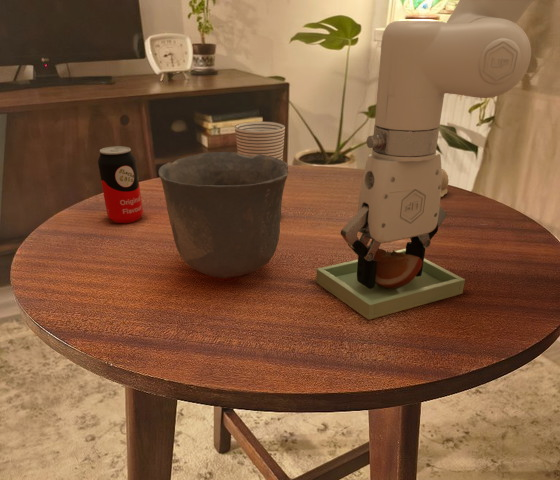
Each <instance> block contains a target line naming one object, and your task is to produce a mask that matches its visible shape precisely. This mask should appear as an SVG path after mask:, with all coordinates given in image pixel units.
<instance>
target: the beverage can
mask: <svg viewBox="0 0 560 480" xmlns="http://www.w3.org/2000/svg"><path fill="white" fill-rule="evenodd" d="M131 150H132V149H131V148H130V147H128V146H122V145H116V146H114V145H113V146H107V147H103V148H101V149H99V156H98V160H97V164H98V169H99V170H98V171H99V176H100V177H99V178H100V181H101V188H102V193H103V197H104V198H103V200H104V204H105V210H106V215H107V217H108V218H109V219H110V220H112V221H113V222H114V223H117V224H131V223H135V222H137V221H139V220H140V218H141V217H142V216H143V214H144V209H143V202H142V194H141V187H140V180H139V174H138V166H137V160H136V157H135V156H134V154H133V153H132V151H131Z"/></svg>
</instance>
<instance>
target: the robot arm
mask: <svg viewBox="0 0 560 480" xmlns="http://www.w3.org/2000/svg"><path fill="white" fill-rule="evenodd" d="M534 1H535V0H458V2H457V4H456V5H455V7H454V9H453V11H452V13H451V14H450V16H449V18H448V19H447V21H446V22H445V21H443V20H438V19H399V20H394V21H391V22H389V23H388V24H387V25H386V27H385V28H384V30H383V33H382V37H381V43H380V44H381V45H380V56H379V67H378V69H379V70H378V79H377V81H378V82H377V92H376V93H377V94H376V104H375V114H374V115H375V117H374V127H373V128H374V129H373V134H372V135H368V136H367V138H366V146H367V147H368V149H372V150H371V151H372V152H371V153H368V155H367V159H366V162H365V166H364V167H365V168H364V170H363V175H362V180H361V183H360V185H361V186H360V190H359V197H358V205H357V213H356V214H355V215H354V216H353V217H352V218H351V219H350V220H349V221H348V222H347V223H346V224H345V225H344V227H343V228H341V230H340V236H341V237H342V238H343V239H344V241H345V242H346V243H347V246H349V248H350V249H351V250H352V251H353V252H354V254H355V255H357V260H358V265H357V280H358V282H360V283H361V284H363V285H364V286H366V287H367V288H369V289H371V288H374V286H375V279H376V269H377V260H375V259H373V258H374V256H375V254H376V252H377V250H378V248H379V249H380V246H381V244H387V243H392V242H393V243H394V242H397V241H403V240H407V239H410V241H407V242H406V245H405V249H406V252H405V254H408V255H413V256H417V257H420V258H421V260H422V261H423V262H424V259H425V255H426V249H428V248H429V247H430V246H431V242H432V239H433V238H434V236H435V235H436V234H437V233H438V231H439V227H441V225H442V224H443V222H444V221H445V220H446V218H447V216H448V213H447V211H446V210H445V209H444V208H442V206H441V198H442V197H441V183H442V169H443V168H442V156H441V153H440V152H439V151H437V147H438V140H439V132H440V125H441V119H442V112H443V104H444V99H445V94H448V95H449V94H451V95H457V96H464V97H471V98H478V99H489V98H495V97H499V96H501V95H504V94H506V93H507V92H509V91H511V90H512V89H514V88H515V87H516V86H517V85H518V84H519V83H520V82H521V81H522V80H523V78H524V77H525V75H526V74H527V71H528V69H529V67H530V64H531V58H532V48H531V47H532V46H531V42H530V39H529V37H528V35H527V33H526V32H525V31H524V29H523V28H522V27H521V26H520V25H518V22H519V21H520V20H521V18H522V17H523V15H524V14H525V12H526V11H527V10H528V9H529V7H530V6H531V5H532V4H533V3H534ZM358 233H360V234H361V235H360V237H359V236H358ZM369 242H370V243H369ZM367 245H368V246H369V247H368V248H367V247H366V246H367ZM422 269H423V264H422V267H421V269H420V271H419V272H418V274H417V275H416V276H417V277H418V276H421V275H422Z"/></svg>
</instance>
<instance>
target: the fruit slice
mask: <svg viewBox="0 0 560 480" xmlns="http://www.w3.org/2000/svg"><path fill="white" fill-rule="evenodd" d="M366 247H367V248H368V247H369V244H367V246H366ZM396 251H397V250H395V249H393V250H392V251H386V250H384V249H383V248H380V247H379V248H378V250H377V252H376V254H375V256H374V258H373V259H375V260H377V269H376V279H375V284H377V285H379V286H381V287H384V288H389V289H393V288H399V287H402V286H404V285H406V284H408V283H409V282H410V281H412V280H413V279H414V278H415V276H416V275H417V274H418V272H419V271H420V269H421V267H422V264H423V261H422V260H421V258H420V257H417V256H413V255H408V254H403V253H401V252H396Z"/></svg>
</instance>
